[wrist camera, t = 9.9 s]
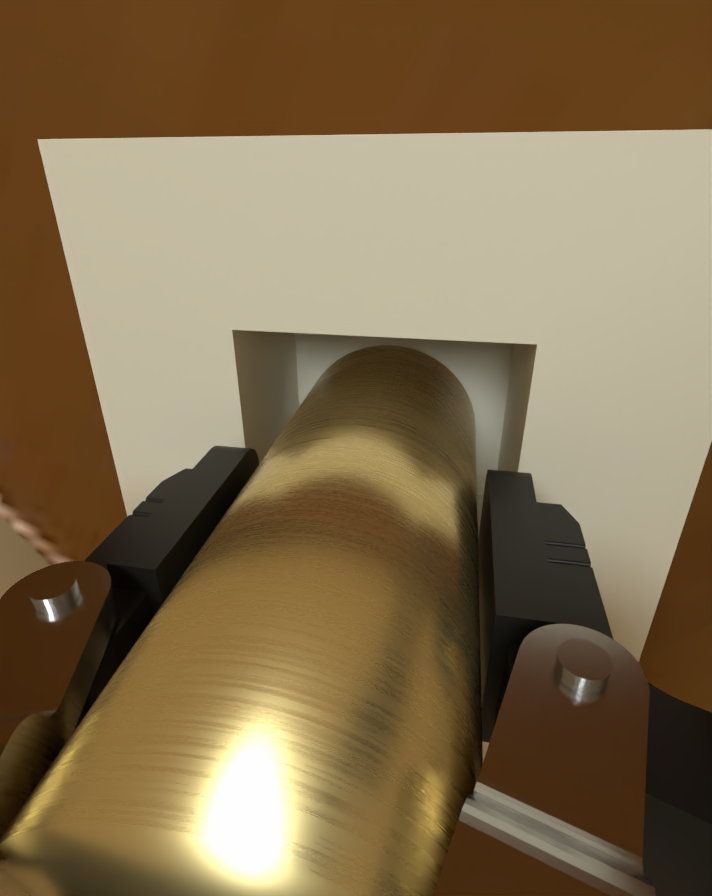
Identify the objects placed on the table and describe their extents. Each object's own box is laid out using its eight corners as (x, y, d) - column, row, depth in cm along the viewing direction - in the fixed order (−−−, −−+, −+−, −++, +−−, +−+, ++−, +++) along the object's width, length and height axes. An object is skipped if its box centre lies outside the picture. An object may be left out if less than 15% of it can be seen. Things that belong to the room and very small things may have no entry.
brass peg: (484, 349, 12) (526, 906, 3) (467, 507, 14) (463, 1133, 5) (302, 340, 12) (-104, 775, 4) (310, 491, 14) (54, 1020, 5)
